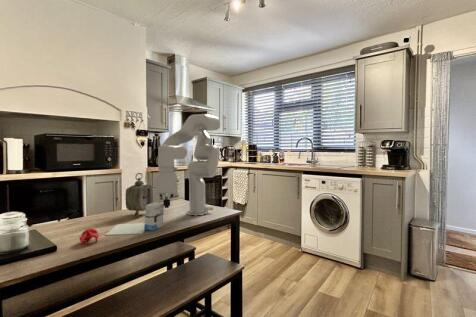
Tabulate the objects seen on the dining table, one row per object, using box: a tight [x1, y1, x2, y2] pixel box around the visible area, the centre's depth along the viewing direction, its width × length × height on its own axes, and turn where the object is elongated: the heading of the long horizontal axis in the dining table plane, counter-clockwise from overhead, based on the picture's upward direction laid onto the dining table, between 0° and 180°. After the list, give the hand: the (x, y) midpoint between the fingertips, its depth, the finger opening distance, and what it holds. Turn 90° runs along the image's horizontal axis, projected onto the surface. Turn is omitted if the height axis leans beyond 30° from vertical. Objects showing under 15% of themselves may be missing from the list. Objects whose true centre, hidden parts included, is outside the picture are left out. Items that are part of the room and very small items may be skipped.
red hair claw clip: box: [79, 228, 99, 245], centre depth 107 cm, size 8×6×6 cm
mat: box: [105, 222, 146, 237], centre depth 124 cm, size 16×16×1 cm
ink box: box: [144, 201, 165, 232], centre depth 125 cm, size 8×5×12 cm, turn 161°
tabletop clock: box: [125, 172, 153, 219], centre depth 150 cm, size 14×9×25 cm, turn 170°
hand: (166, 207), depth 126 cm, fingers closed
